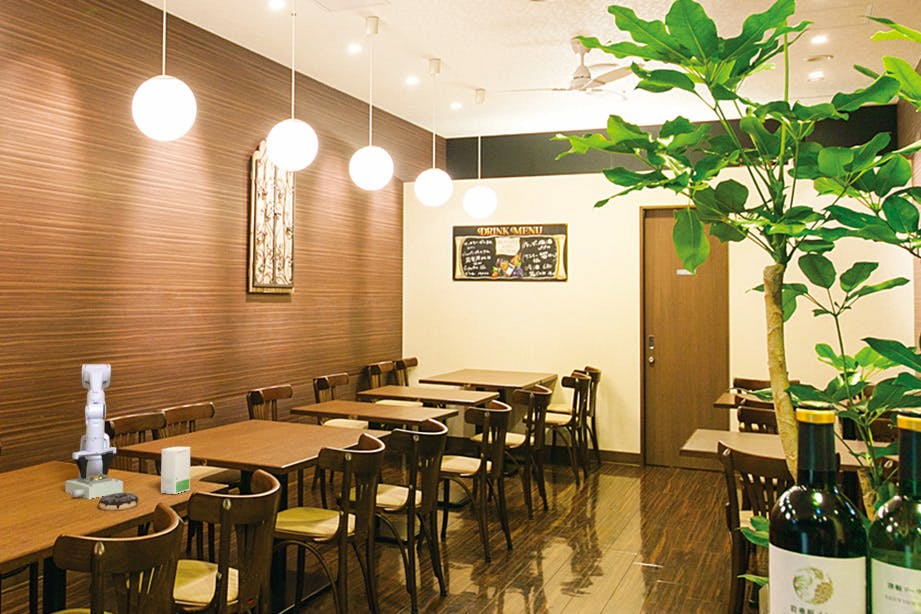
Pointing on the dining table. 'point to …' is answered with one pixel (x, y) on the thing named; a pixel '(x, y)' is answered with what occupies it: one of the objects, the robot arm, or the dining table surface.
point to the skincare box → (175, 470)
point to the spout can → (95, 478)
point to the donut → (118, 501)
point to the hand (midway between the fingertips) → (94, 476)
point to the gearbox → (93, 487)
